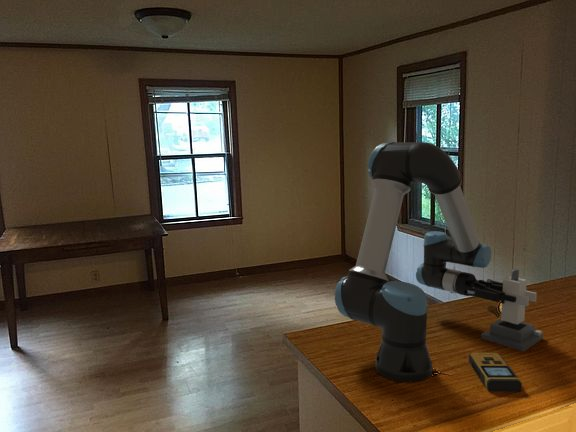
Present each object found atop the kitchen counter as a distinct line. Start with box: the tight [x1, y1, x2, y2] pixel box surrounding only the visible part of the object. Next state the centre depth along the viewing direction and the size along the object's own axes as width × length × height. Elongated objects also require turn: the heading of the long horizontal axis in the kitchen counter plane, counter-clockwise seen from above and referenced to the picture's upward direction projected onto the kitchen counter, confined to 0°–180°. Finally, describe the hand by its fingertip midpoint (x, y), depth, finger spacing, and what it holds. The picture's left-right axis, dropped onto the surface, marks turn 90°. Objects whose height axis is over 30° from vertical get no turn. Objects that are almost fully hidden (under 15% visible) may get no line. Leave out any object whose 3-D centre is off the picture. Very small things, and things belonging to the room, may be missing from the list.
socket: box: [480, 318, 544, 352], centre depth 150 cm, size 13×13×4 cm
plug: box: [500, 268, 527, 325], centre depth 148 cm, size 4×5×16 cm
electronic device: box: [468, 352, 523, 393], centre depth 128 cm, size 9×16×4 cm, turn 176°
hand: (531, 299), depth 144 cm, fingers closed on plug, 4 cm apart
